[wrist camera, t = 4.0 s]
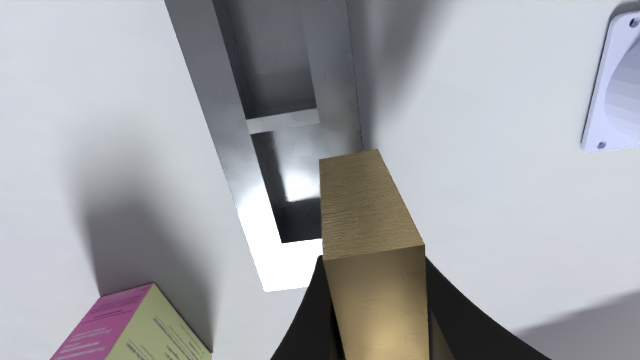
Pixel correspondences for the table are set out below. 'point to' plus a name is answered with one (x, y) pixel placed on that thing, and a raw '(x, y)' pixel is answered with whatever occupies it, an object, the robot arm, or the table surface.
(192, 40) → the block
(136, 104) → the table surface
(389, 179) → the clip
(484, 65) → the table surface
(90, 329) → the box
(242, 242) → the table surface
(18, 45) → the table surface
